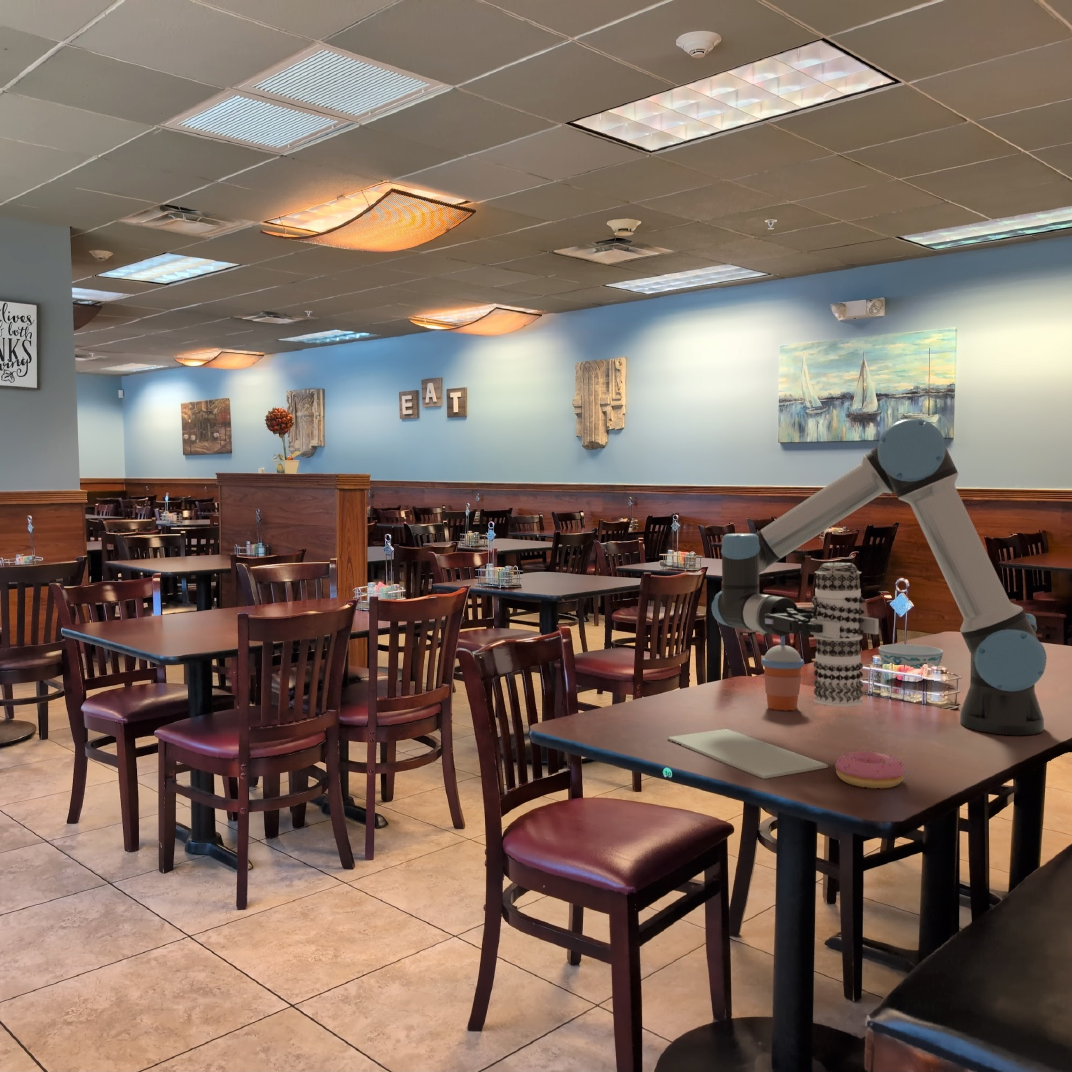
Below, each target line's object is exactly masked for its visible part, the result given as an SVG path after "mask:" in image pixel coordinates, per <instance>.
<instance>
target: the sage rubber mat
mask: <svg viewBox="0 0 1072 1072" xmlns="http://www.w3.org/2000/svg"><path fill="white" fill-rule="evenodd" d="M668 739H669V740H671V741H670V742H672V741H674V742H676V743H675V744H677V743H679V744H681V745H680V746H683V747H684V748H687V749H689V748H690V750H692V751H695V752H697V753H699V754H702V755H705V756H707V757H709V758H712V759H715V760H716V761H719V762H721V763H723V764H727V765H729V766H732V767H734V768H737V769H739V770H742V771H744V772H746V773H748V774H751V775H753V776H756V777H759V778H761V779H770V778H777V777H781V776H786V775H787V776H788V775H792V774H793V775H794V774H799V773H804V772H805V773H806V772H810V771H816V770H821V769H826V768H829V764H828V763H825V762H822V761H819V760H816V759H813V758H811V757H807V756H804V755H802V754H799V753H797V752H793V751H791V750H788V749H785V748H782V747H779V746H777V745H774V744H771V743H768V742H765V741H762V740H760V739H757V738H754V737H752V736H748V735H746V734H742V733H739V732H738V731H734V730H731V729H729V728H721V729H717V730H709V731H708V730H707V731H701V732H694V733H688V734H680V735H674V736H668V737H667V740H668ZM669 740H668V741H669ZM674 742H673V743H674ZM679 744H678V745H679Z"/></svg>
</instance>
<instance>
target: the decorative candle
mask: <svg viewBox="0 0 1072 1072" xmlns="http://www.w3.org/2000/svg"><path fill="white" fill-rule="evenodd" d="M814 573H816V575H815V576H816V577H815V578H816V580H815V581H816V587H815V594H814V595H815V596H814V597H813V598H812V599H811V603H812V604H813V607H812V608H811V610H812V612H813V613H814V614H816V615H817V616H816V617H814V619H818V620H824V621H830V622H837V623H840V638H839V639H835V638H829V637H824V636H818V635H813V638H815V639H816V652H815V662H813V667H814V668H816V669H815V670H814V672H813V675H814V676H815V677H816V678H815V679H814V680H813V685H814V689H813V694H814V695H815V697H814V699H813V701H814V702H815V703H817V704H818V705H823V706H828V707H829V706H830V707H839V708H840V707H841V708H843V707H847V708H848V707H849V708H850V707H856V706H857V707H858V706H860V705H863V698H862V697H863V696H864V691H863V690H862V688H863V687H864V683H863V681H862V680H861V678H862V677H864V674H863V672H862V671H861V669H863V667H864V665H863V663H862V654H861V640H862V639H863V634H864V633H863V630H862V629H859V623H863V622H864V619H863V618H860V616H862V615H864V614H865V610H864V609H862V608H861V607H860V605H862V604H864V603H865V602H866V599H865V598H864V597H862V596H863V595H862V593H861V591H862V590H861V589H862V588H861V584H860V583H861V581H860V580H861V575H860V574H862V571H859V570H858V568H857V566H856V565H855V564H854V563H851V562H825V563H822V564H821V565H820V567H819V569H818V570H816V571H814ZM813 613H812V614H813Z"/></svg>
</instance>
